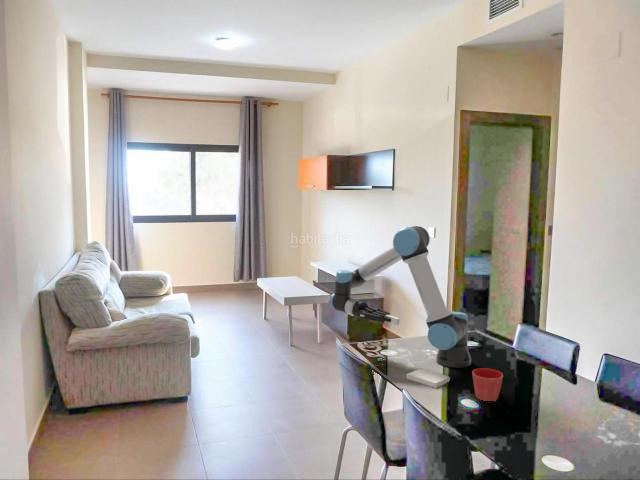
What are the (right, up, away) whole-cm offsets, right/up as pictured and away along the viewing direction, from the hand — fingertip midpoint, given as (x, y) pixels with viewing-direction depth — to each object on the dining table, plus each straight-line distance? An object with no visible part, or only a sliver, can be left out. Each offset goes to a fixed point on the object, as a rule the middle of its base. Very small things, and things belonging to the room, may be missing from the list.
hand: (398, 321), depth 218 cm
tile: (+6, -21, -5) cm, 22 cm away
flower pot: (+28, -24, -29) cm, 47 cm away
